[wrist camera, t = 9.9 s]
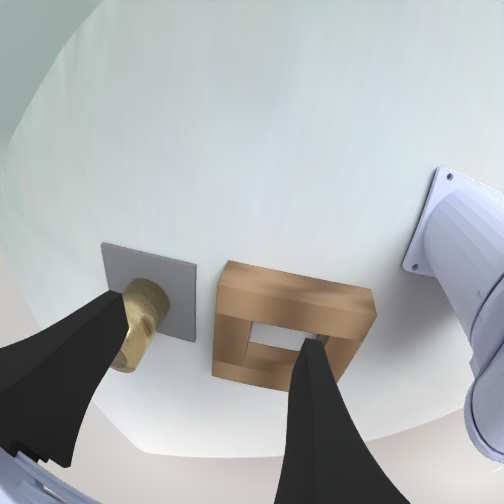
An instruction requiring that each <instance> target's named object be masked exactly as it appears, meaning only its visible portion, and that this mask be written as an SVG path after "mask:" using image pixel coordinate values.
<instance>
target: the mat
mask: <svg viewBox="0 0 504 504" xmlns="http://www.w3.org/2000/svg"><path fill="white" fill-rule="evenodd" d="M101 249H102V255H103V261H104V267H105V272H106V277H107V282H108V287H109V290H112V291H115V292H118V293H121V292H122V291H123V290H124V289H125V288H126V286H127V285H128V284H129V283H130V282H131V281H132V280H134V279H136V278H144V279H148V280H150V281H152V282H154V283H156V284H157V285H159V286H160V287H161V288H162V289H163V290H164V292H165V293H166V295H167V296H168V298H169V302H170V309H169V311H168V313H167V315H166V317H165V318H164V320H163V322H162V323H161V325H160V327H159V328H158V330H157V332H159V333H163V334H166V335H169V336H173V337H176V338H180V339H183V340H187V341H190V342H194V343H195V340H196V264H192V263H188V262H184V261H179V260H175V259H171V258H166V257H162V256H158V255H153V254H149V253H145V252H141V251H137V250H133V249H128V248H124V247H120V246H116V245H112V244H108V243H104V242H103V243H102V244H101Z"/></svg>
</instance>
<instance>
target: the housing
mask: <svg viewBox="0 0 504 504" xmlns="http://www.w3.org/2000/svg"><path fill="white" fill-rule="evenodd" d="M376 317H377V314H376V310H375V305H374V301H373V298H372V294H371V290H370V289H366V288H361V287H356V286H351V285H346V284H341V283H336V282H331V281H326V280H321V279H316V278H311V277H306V276H301V275H296V274H291V273H286V272H282V271H277V270H272V269H267V268H262V267H257V266H253V265H248V264H243V263H238V262H234V261H228V263H227V265H226V267H225V269H224V272H223V274H222V276H221V278H220V280H219V283H218V287H217V301H216V315H215V330H214V346H213V363H212V376H215V377H219V378H223V379H227V380H231V381H235V382H240V383H244V384H249V385H254V386H259V387H264V388H269V389H274V390H280V391H286V392H289V388H290V381H291V375H292V370H293V367H294V365H295V363H296V360H297V358H298V355H299V353H300V352H298V351H292V350H287V349H281V348H276V347H271V346H266V345H261V344H256V343H252V342H249V338H250V333H251V328H252V323H253V321H255V322H260V323H264V324H269V325H274V326H279V327H284V328H289V329H294V330H300V331H305V332H311V333H317V334H318V336H317V339H316V340H320V341H322V342H323V343H324V347H325V351H326V354H327V357H328V361H329V364H330V367H331V370H332V373H333V375H334V378H335V381H336V384H337V382H338V381H339V379H340V378H341V376H342V374H343V373H344V371H345V370H346V368H347V367H348V365H349V363H350V362H351V360H352V359H353V357H354V355H355V354H356V352H357V350H358V349H359V347H360V345H361V343H362V342H363V340H364V338H365V337H366V335H367V333H368V331H369V329H370V328H371V326H372V324H373V322H374V320H375V318H376Z"/></svg>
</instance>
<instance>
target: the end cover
mask: <svg viewBox="0 0 504 504" xmlns="http://www.w3.org/2000/svg"><path fill="white" fill-rule="evenodd" d="M121 294H122V296H123V301H124V306H125V311H126V315H127V320H128V324H129V331H128V333H127V336H126V338H125V340H124V342H123V344H122V347H121V349H120V350H119V352H118V354H117V355H116V357H115V359H114V360H113V362H112V364H111V365H110V367H111V368H113V369H115V370H117V371H120V372H124V373H130V372H133V371H134V370H135V369H136V367H137V365H138V363H139V361H140V360H141V358H142V356H143V354H144V353H145V351H146V349H147V347H148V346H149V344H150V342H151V340H152V339H153V337H154V335H155V334H156V332H157V330H158V328H159V327H160V325H161V323H162V322H163V320H164V318H165V317H166V315H167V313H168V311H169V309H170V302H169V298H168V296H167V295H166V293H165V292H164V290H163V289H162V288H161V287H160V286H159V285H157V284H156V283H154V282H152V281H150V280H148V279H144V278H136V279H134V280H132V281H131V282H130V283H129V284H128V285H127V286H126V288H125V289H124V290H123V291H122V292H121Z"/></svg>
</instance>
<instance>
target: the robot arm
mask: <svg viewBox="0 0 504 504" xmlns="http://www.w3.org/2000/svg"><path fill="white" fill-rule="evenodd" d="M449 173H450V174H451V176H450V178H449V179H447V175H448V174H449ZM415 264H417V265H416V267H413V265H415ZM402 266H403V268H404V270H405V271H407V272H412V273H416V274H420V275H425V276H429V277H434V278H437V279H438V281H439V283H440V285H441V286H442V288H443V290H444V292H445V294H446V296H447V298H448V299H449V301H450V303H451V305H452V307H453V309H454V311H455V313H456V315H457V317H458V319H459V321H460V323H461V325H462V327H463V330H464V332H465V334H466V336H467V338H468V341H469V343H470V345H471V347H472V350H473V356H472V359H471V361H470V363H469V364H470V366H471V369H472V372H473V374H474V377H475V380H474V382H473V383H472V385H471V386H470V388H469V390H468V393H467V396H466V399H465V404H464V418H465V424H466V429H467V431H468V434H469V437H470V439H471V441H472V442H473V444H474V446H475V447H476V448H477V449H478V451H479V452H481V453H482V454H483V455H484V456H485V457H487V458H489V459H491V460H493V461H497V462H500V463H504V194H502V193H500V192H498V191H497V190H495V189H493V188H491V187H489V186H487V185H485V184H483V183H481V182H478V181H476V180H474V179H472V178H470V177H468V176H466V175H463V174H461V173H459V172H456V171H454V170H452V169H449V168H447V167H445V166H440V167H438V168H437V170H436V173H435V177H434V180H433V183H432V186H431V189H430V192H429V196H428V199H427V201H426V204H425V207H424V210H423V213H422V216H421V218H420V221H419V224H418V226H417V229H416V232H415V234H414V237H413V239H412V242H411V244H410V247H409V249H408V251H407V254H406V256H405V258H404V261H403V264H402ZM128 331H129V324H128V320H127V315H126V311H125V306H124V301H123V296H122V294H121V293H118V292H115V291H112V290H109V291H107V292H105V293H104V294H102V295H100V296H99V297H97V298H96V299H94V300H92V301H91V302H89V303H88V304H86V305H85V306H83V307H81V308H80V309H78V310H77V311H75V312H73V313H72V314H70V315H69V316H67V317H65V318H64V319H62V320H60V321H59V322H57V323H55V324H53V325H52V326H50V327H48V328H46V329H45V330H43V331H41V332H39V333H37V334H35V335H33V336H30V337H29V338H26V339H24V340H21V341H19V342H16V343H14V344H11V345H9V346H6V347H3V348H0V504H71V503H72V504H102V503H100V502H98V501H96V500H94V499H92V498H91V497H89V496H87V495H85V494H83V493H81V492H80V491H78V490H76V489H75V488H73V487H71V486H70V485H68V484H67V483H65V482H63V481H62V480H60V479H59V478H57V477H56V476H54V475H53V474H51V473H49V472H48V471H47V470H45V469H44V468H43V467H41V466H40V465H39V464H37V462H38V460H39V459H41V460H42V461H43V462H45V463H47V462H48V460H49V459H51V460H52V461H54V462H56V463H57V464H58V465H60V466H61V467H63V468H67V467H70V466H71V461H72V456H73V451H74V446H75V443H76V439H77V436H78V432H79V429H80V426H81V423H82V421H83V418H84V415H85V412H86V410H87V408H88V405H89V403H90V400H91V398H92V396H93V394H94V392H95V390H96V388H97V387H98V385H99V383H100V382H101V380H102V378H103V377H104V375H105V373H106V372H107V370H108V368H109V367H110V365H111V364H112V362H113V360H114V359H115V357H116V355H117V354H118V352H119V350H120V349H121V347H122V344H123V342H124V340H125V338H126V336H127V333H128ZM43 485H44V486H46V487H47V488H49V489H50V490H52V491H53V492H55V493H56V494H58V495H59V496H61V497H62V498H61V497H59V496H58V495H55V494H54V493H52V492H50V491H48V490H46V489H44V486H43ZM63 498H64V499H63ZM66 500H67V501H66ZM69 502H70V503H69ZM274 504H410V502H409V501H408V500H407V499H406V498H405V497H404V496H403V495H402V494H401V493H400V492H399V490H398V489H397V488H396V487H395V486H394V485H393V484H392V482H391V481H390V480H389V478H388V477H387V476H386V475H385V473H384V472H383V471H382V469H381V468H380V466H379V465H378V463H377V462H376V460H375V459H374V457H373V456H372V455H371V453H370V452H369V450H368V448H367V447H366V445H365V443H364V442H363V440H362V438H361V436H360V434H359V433H358V431H357V429H356V427H355V425H354V423H353V421H352V419H351V417H350V415H349V413H348V410H347V408H346V406H345V404H344V401H343V399H342V396H341V394H340V391H339V389H338V386H337V384H336V381H335V378H334V375H333V373H332V370H331V367H330V364H329V361H328V357H327V354H326V351H325V347H324V343H323V342H322V341H320V340H314V339H308V338H305V341H304V343H303V346H302V348H301V351H300V353H299V355H298V358H297V360H296V363H295V365H294V367H293V370H292V375H291V381H290V388H289V395H288V414H287V433H286V447H285V455H284V460H283V465H282V470H281V475H280V480H279V484H278V489H277V493H276V497H275V501H274Z"/></svg>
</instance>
